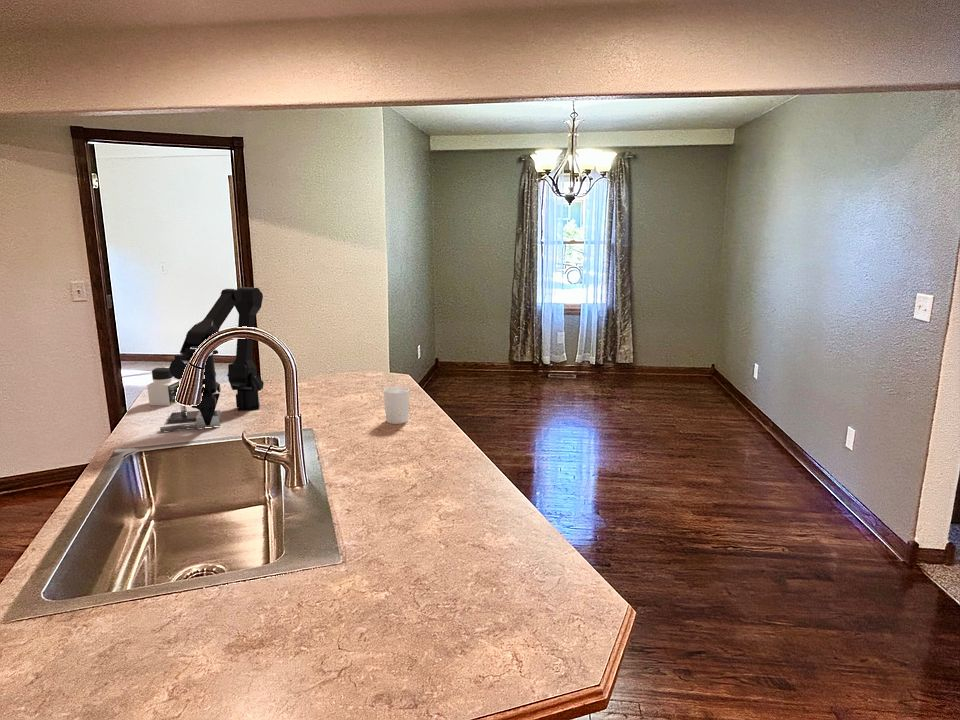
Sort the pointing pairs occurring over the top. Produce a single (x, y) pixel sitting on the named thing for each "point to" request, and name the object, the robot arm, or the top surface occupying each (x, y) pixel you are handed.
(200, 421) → the end link
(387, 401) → the white cup
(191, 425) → the chain tail
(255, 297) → the robot arm
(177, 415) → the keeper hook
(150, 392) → the medicine bottle
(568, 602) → the top surface
